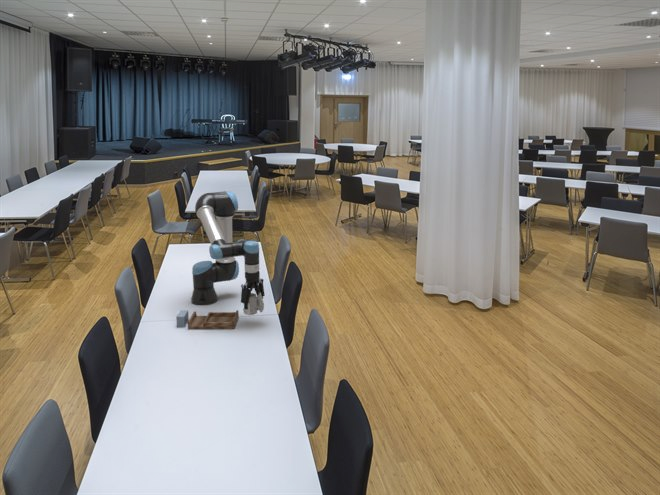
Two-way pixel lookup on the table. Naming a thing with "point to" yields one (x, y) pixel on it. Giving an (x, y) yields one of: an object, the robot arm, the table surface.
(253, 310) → the mug
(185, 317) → the blue-grey rectangular block
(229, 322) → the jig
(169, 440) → the table surface
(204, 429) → the table surface
